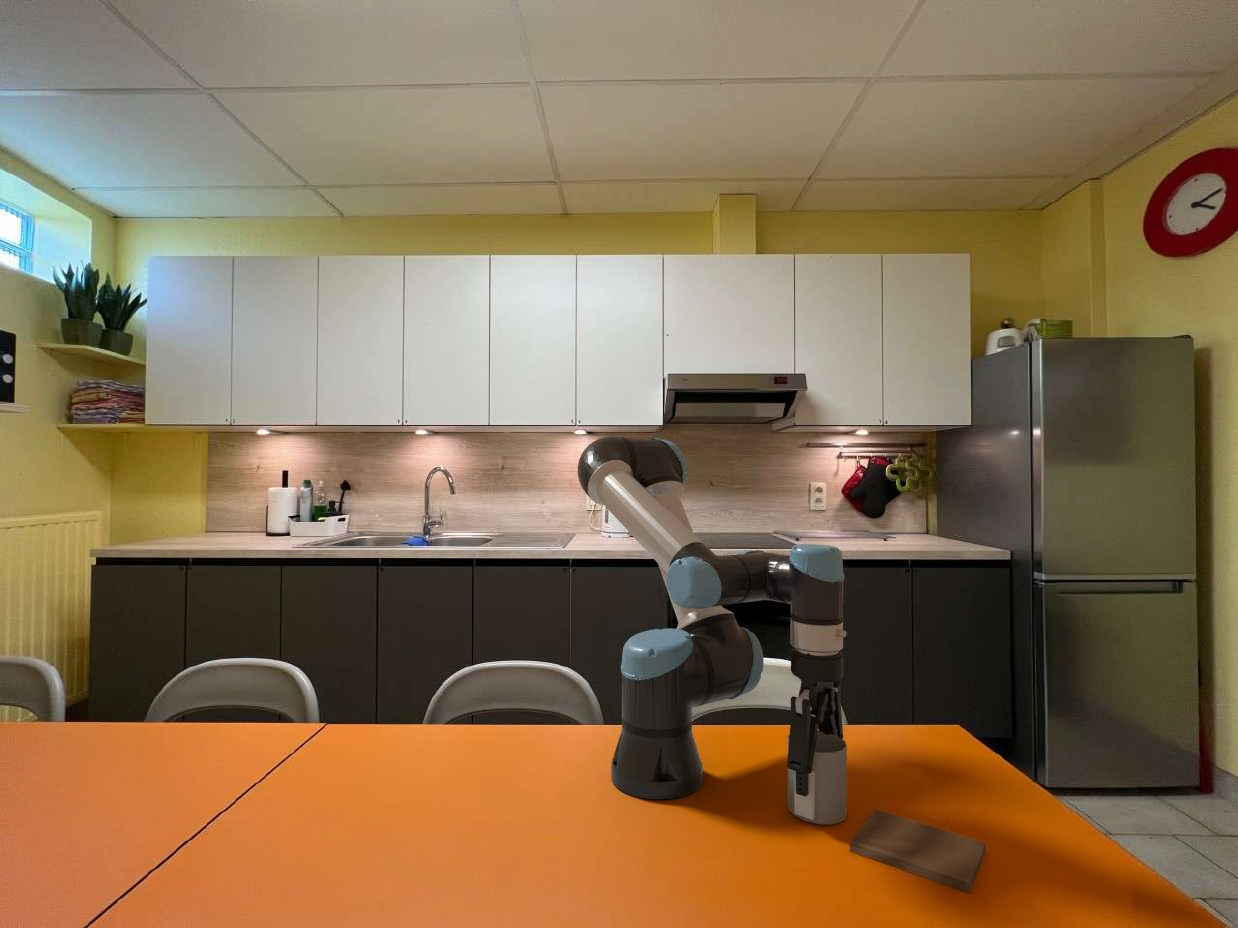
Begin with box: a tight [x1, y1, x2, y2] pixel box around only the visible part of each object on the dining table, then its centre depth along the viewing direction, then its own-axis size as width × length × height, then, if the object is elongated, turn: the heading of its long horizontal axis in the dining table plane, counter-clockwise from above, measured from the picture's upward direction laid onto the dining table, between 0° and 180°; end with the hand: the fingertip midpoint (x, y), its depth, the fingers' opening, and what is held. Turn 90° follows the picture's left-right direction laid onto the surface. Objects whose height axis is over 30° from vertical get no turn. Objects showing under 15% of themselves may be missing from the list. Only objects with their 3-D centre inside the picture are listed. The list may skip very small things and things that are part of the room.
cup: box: [787, 730, 848, 825], centre depth 93 cm, size 8×8×10 cm
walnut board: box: [849, 809, 987, 894], centre depth 83 cm, size 14×11×1 cm
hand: (816, 802), depth 93 cm, fingers closed on cup, 8 cm apart
